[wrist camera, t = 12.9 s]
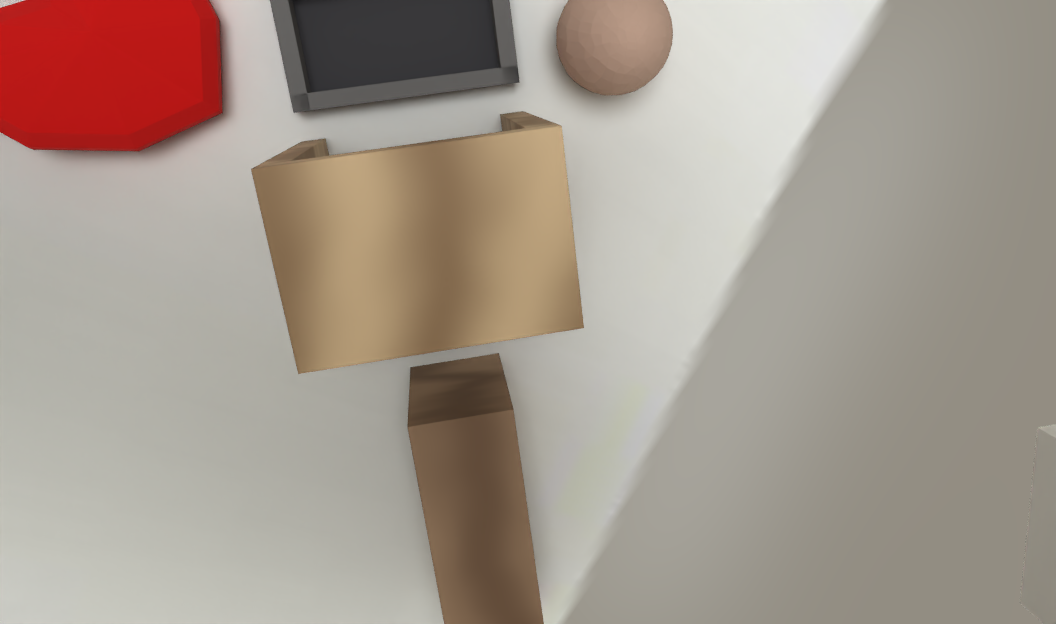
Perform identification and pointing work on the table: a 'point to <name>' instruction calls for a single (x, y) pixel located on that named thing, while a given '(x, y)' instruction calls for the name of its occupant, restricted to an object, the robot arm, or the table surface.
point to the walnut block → (473, 492)
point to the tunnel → (421, 244)
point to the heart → (107, 72)
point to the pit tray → (391, 48)
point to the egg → (614, 43)
